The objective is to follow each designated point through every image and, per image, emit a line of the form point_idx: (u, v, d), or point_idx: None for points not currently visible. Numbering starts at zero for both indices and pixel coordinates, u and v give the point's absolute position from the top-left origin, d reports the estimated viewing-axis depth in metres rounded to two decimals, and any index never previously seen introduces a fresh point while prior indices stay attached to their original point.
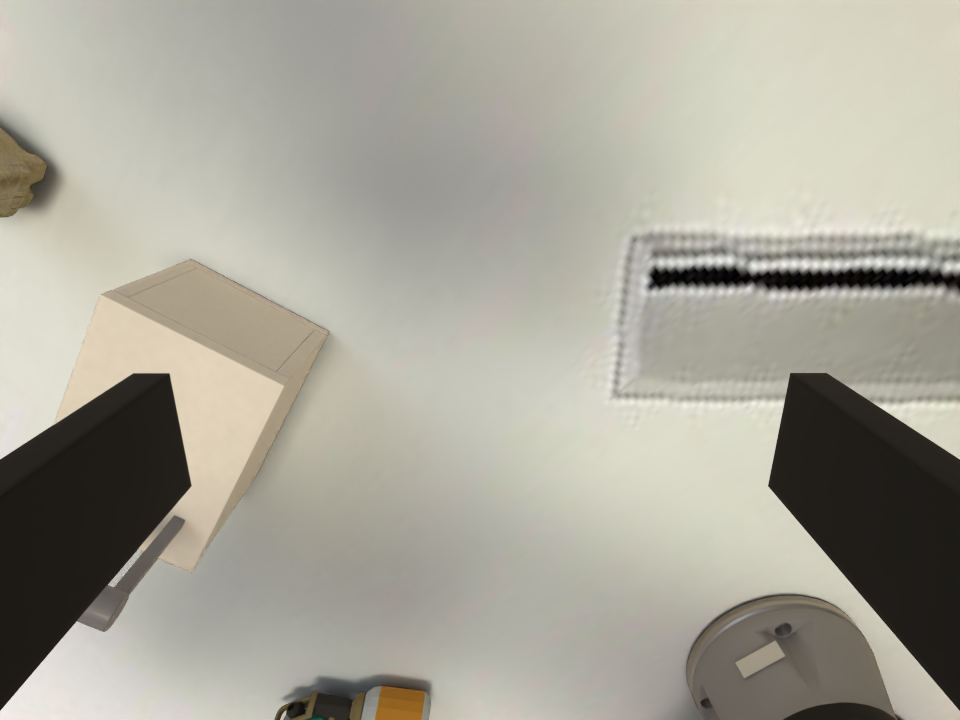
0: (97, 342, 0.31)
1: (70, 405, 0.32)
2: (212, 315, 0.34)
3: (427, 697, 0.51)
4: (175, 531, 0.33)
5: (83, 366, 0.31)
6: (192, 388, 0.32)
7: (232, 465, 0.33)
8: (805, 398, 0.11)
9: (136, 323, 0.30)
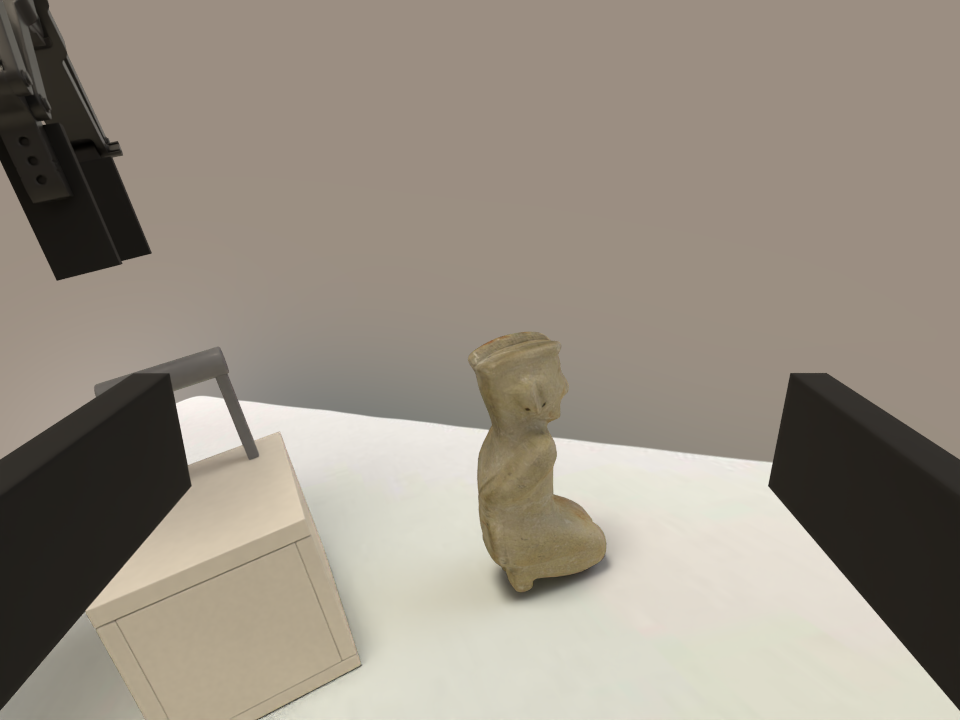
0: (286, 502, 0.32)
1: (282, 471, 0.36)
2: (243, 615, 0.30)
3: None
4: None
5: (287, 488, 0.34)
6: (186, 543, 0.30)
7: None
8: (805, 398, 0.11)
9: (262, 530, 0.30)
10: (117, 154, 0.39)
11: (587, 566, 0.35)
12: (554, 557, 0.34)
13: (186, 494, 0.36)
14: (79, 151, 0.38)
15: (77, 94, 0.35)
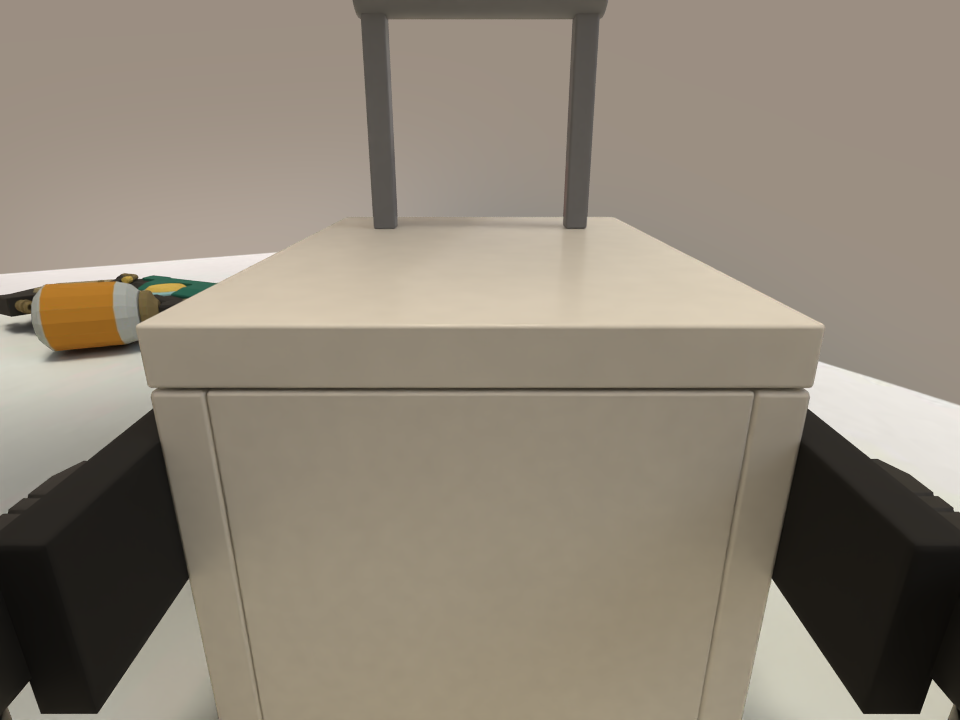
0: (713, 284, 0.11)
1: (658, 248, 0.15)
2: (523, 536, 0.10)
3: (41, 336, 0.35)
4: (373, 193, 0.18)
5: (694, 267, 0.13)
6: (436, 285, 0.11)
7: (296, 254, 0.14)
8: None
9: (670, 313, 0.09)
10: None
11: None
12: None
13: (441, 236, 0.17)
14: None
15: None
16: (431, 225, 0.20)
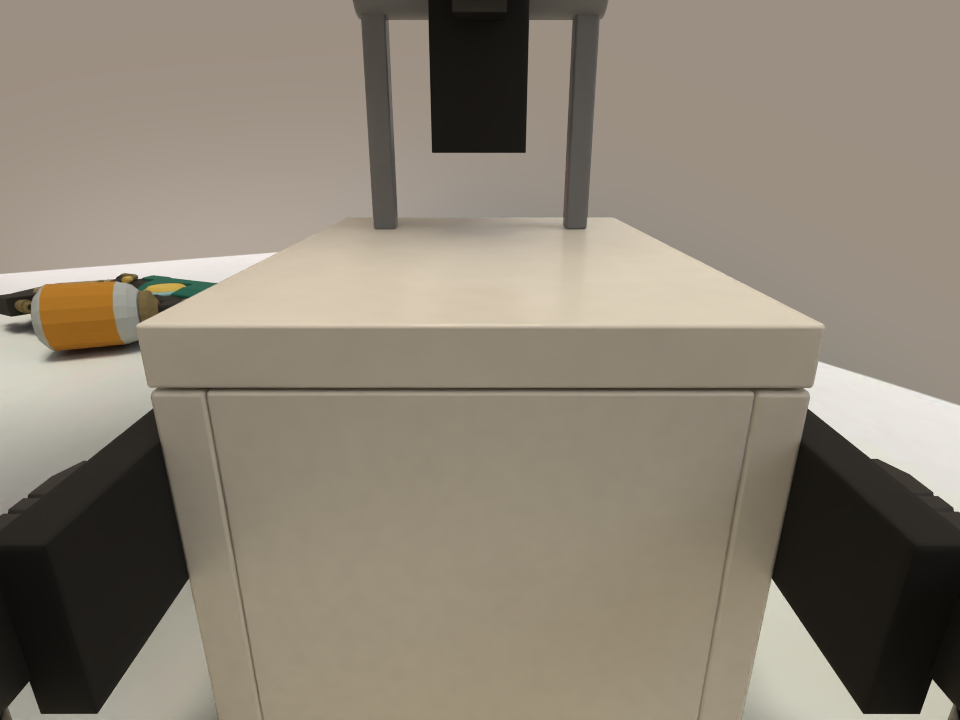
0: (713, 285, 0.11)
1: (658, 248, 0.15)
2: (523, 536, 0.10)
3: (40, 336, 0.35)
4: (373, 194, 0.18)
5: (694, 268, 0.13)
6: (437, 285, 0.11)
7: (296, 254, 0.14)
8: None
9: (670, 313, 0.09)
10: None
11: None
12: None
13: (441, 236, 0.17)
14: None
15: None
16: (431, 225, 0.20)
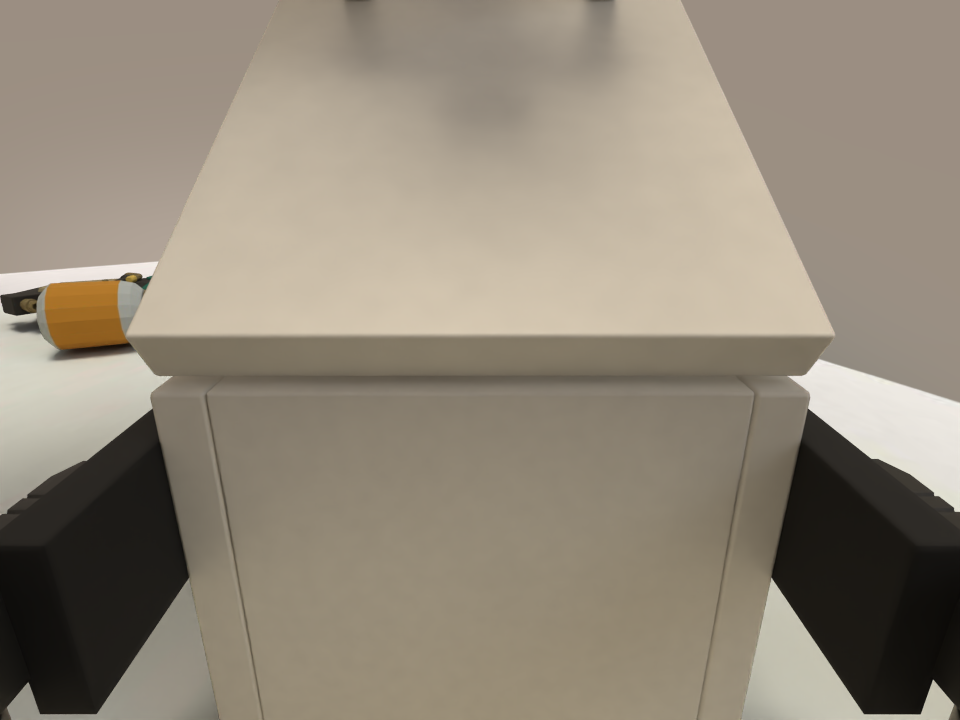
0: (741, 215, 0.10)
1: (696, 81, 0.12)
2: (523, 536, 0.10)
3: (46, 335, 0.36)
4: None
5: (729, 155, 0.11)
6: (432, 215, 0.10)
7: (259, 105, 0.12)
8: None
9: (680, 305, 0.09)
10: None
11: None
12: None
13: (431, 32, 0.14)
14: None
15: None
16: None
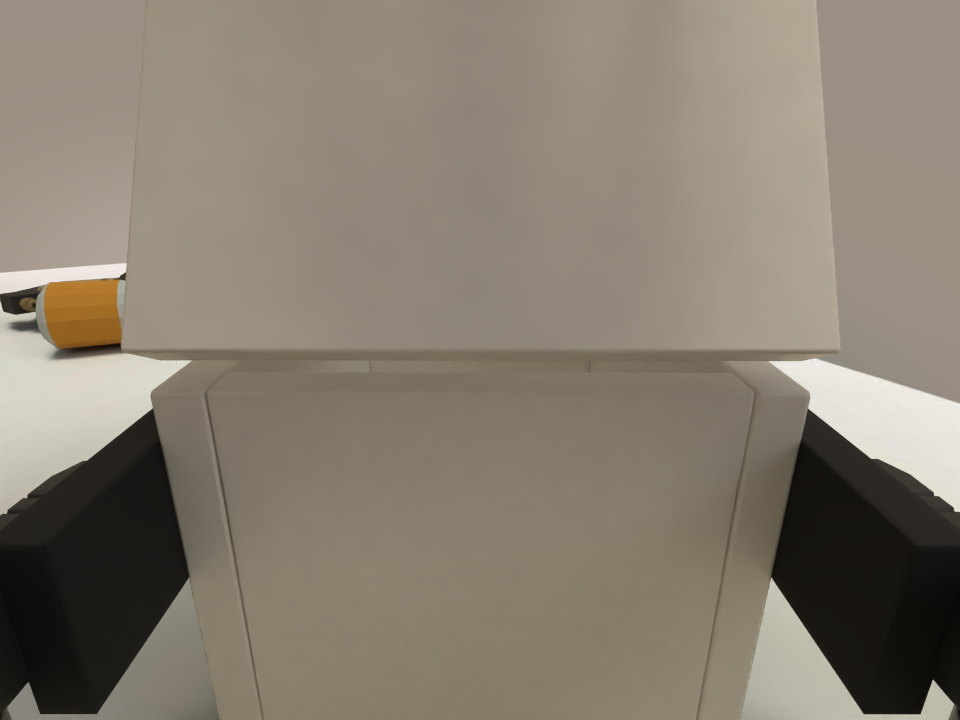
0: (783, 176, 0.09)
1: None
2: (523, 535, 0.10)
3: (45, 334, 0.35)
4: None
5: (791, 68, 0.09)
6: (425, 175, 0.09)
7: None
8: None
9: (690, 313, 0.08)
10: None
11: None
12: None
13: None
14: None
15: None
16: None
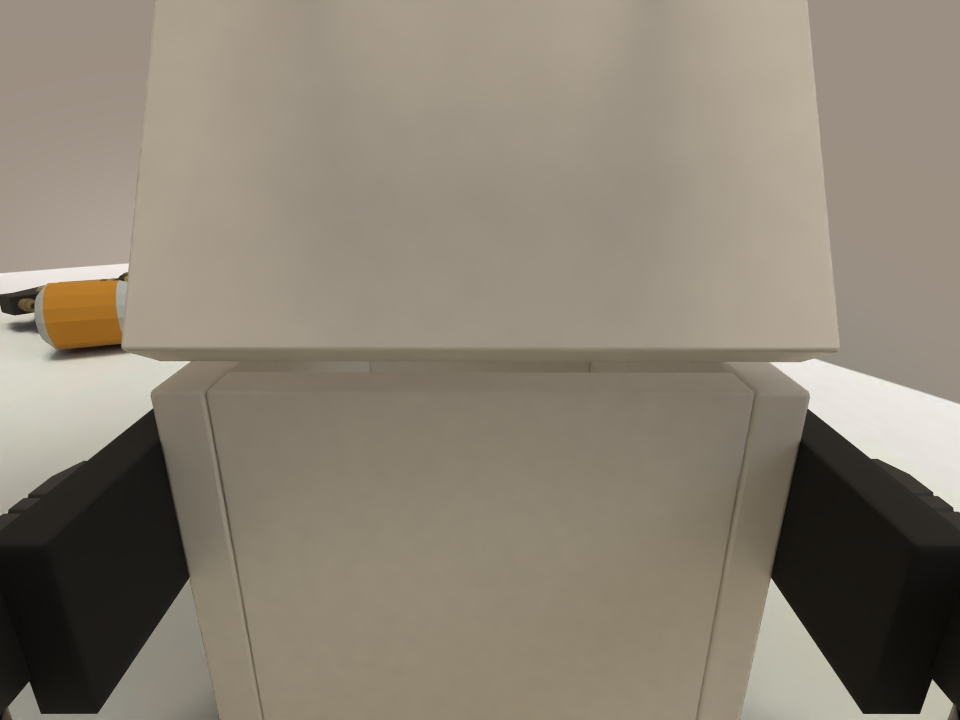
0: (779, 178, 0.09)
1: None
2: (523, 535, 0.10)
3: (44, 335, 0.35)
4: None
5: (785, 73, 0.09)
6: (425, 176, 0.09)
7: None
8: None
9: (689, 311, 0.08)
10: None
11: None
12: None
13: None
14: None
15: None
16: None
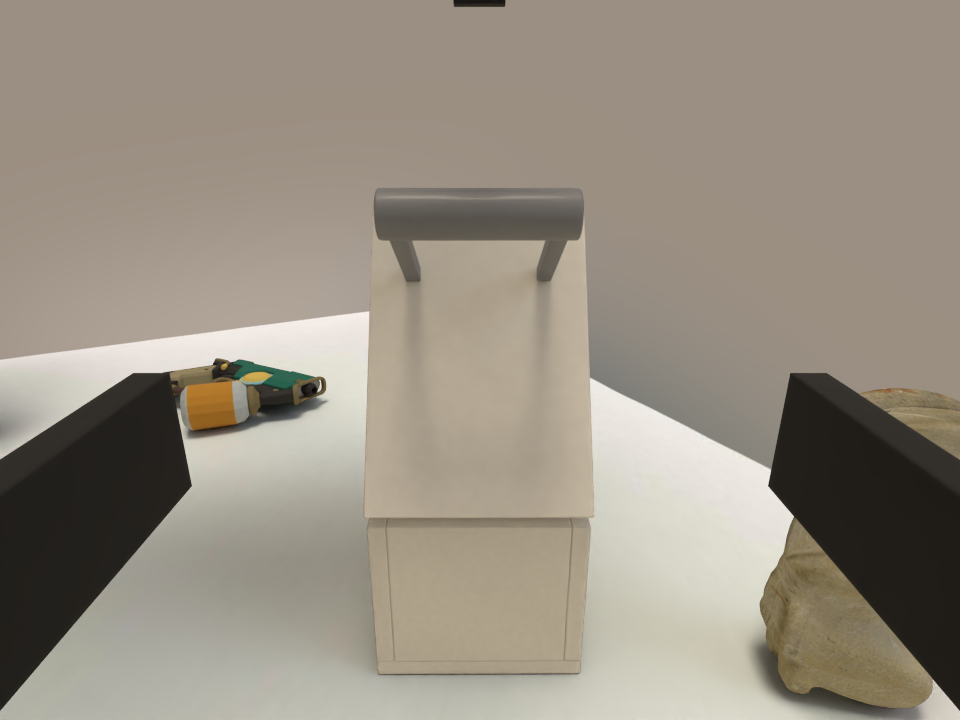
0: (577, 458, 0.26)
1: (578, 363, 0.27)
2: (494, 574, 0.27)
3: (186, 422, 0.53)
4: (403, 273, 0.26)
5: (580, 420, 0.26)
6: (460, 458, 0.26)
7: (381, 383, 0.27)
8: (805, 398, 0.11)
9: (545, 504, 0.26)
10: None
11: (893, 706, 0.27)
12: (859, 677, 0.26)
13: (454, 316, 0.27)
14: None
15: None
16: (443, 261, 0.28)
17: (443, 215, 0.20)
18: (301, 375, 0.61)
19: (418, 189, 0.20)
